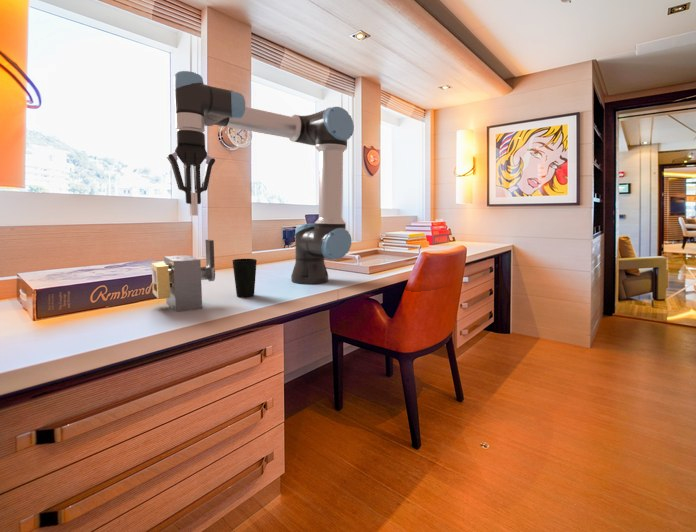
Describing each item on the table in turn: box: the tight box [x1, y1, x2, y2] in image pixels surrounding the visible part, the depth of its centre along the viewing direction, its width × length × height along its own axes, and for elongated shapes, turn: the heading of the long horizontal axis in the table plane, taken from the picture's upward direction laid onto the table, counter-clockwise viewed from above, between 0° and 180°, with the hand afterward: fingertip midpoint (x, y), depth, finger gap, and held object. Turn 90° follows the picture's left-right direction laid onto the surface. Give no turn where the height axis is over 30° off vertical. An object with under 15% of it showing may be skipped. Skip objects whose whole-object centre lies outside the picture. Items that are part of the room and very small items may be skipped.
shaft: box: [152, 239, 216, 284], centre depth 109 cm, size 16×5×13 cm, turn 125°
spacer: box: [150, 261, 170, 300], centre depth 106 cm, size 3×9×9 cm, turn 35°
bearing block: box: [163, 254, 203, 313], centre depth 110 cm, size 7×14×14 cm, turn 35°
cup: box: [232, 258, 258, 299], centre depth 123 cm, size 8×8×12 cm
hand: (194, 215), depth 109 cm, fingers closed
